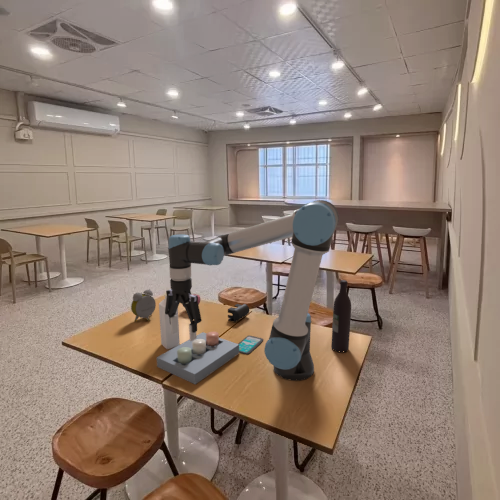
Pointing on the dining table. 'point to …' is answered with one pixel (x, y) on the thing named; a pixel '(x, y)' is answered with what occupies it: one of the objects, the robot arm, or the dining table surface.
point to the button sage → (184, 355)
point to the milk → (167, 328)
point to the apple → (198, 298)
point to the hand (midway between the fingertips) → (183, 336)
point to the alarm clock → (143, 304)
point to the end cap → (238, 312)
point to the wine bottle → (341, 319)
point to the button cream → (199, 346)
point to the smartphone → (249, 344)
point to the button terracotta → (212, 338)
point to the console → (198, 359)
